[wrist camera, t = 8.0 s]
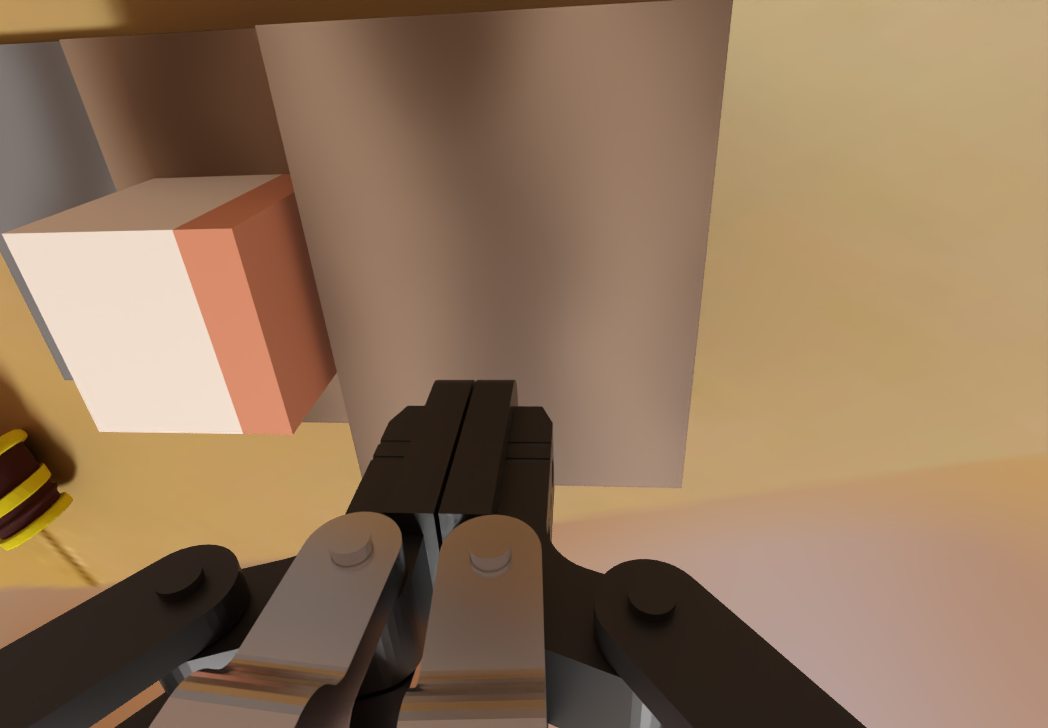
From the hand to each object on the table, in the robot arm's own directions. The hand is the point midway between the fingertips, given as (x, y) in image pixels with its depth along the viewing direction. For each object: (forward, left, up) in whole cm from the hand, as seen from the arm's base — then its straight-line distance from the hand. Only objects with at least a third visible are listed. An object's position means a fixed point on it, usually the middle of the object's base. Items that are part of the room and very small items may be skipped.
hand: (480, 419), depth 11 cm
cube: (+6, 0, -7) cm, 9 cm away
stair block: (+9, 0, -13) cm, 16 cm away
